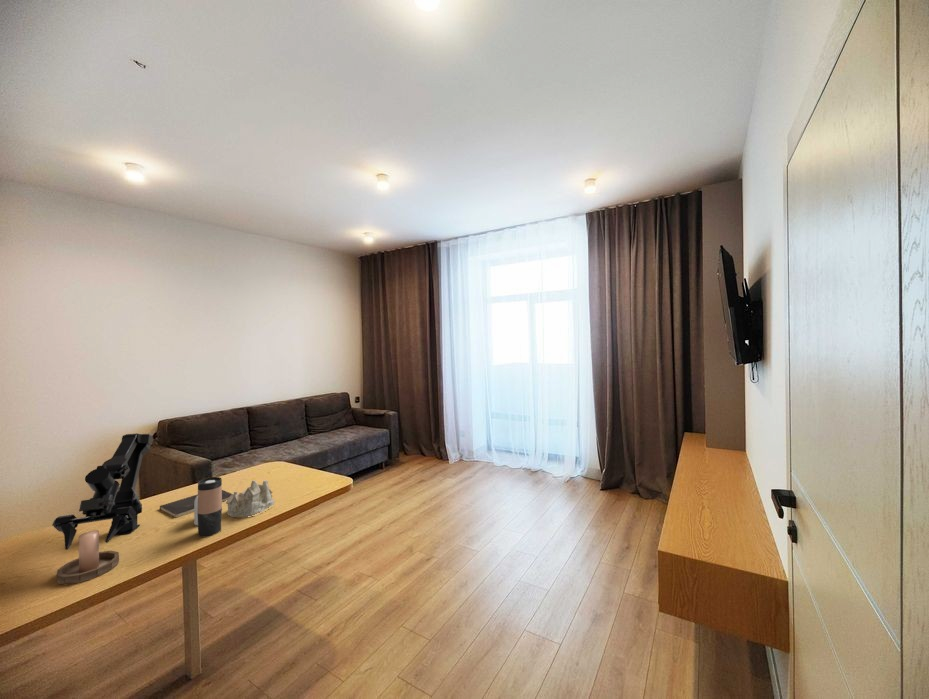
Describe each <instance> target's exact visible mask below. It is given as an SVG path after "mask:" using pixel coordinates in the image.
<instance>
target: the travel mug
mask: <svg viewBox="0 0 929 699" xmlns="http://www.w3.org/2000/svg"><path fill="white" fill-rule="evenodd" d="M222 482H223V480H222V477H219V476H218V477H217V476H215V477H214V476H212V477H207V478H204V479H201V480H199V481H198V482H197V494H198V511H197V514H198V525H197V534H198V537H201V538H205V537H210V536H214V535H217V534H218V533H220V532H221V530H222V514H223V513H222V511H223V502H222V490H223V489H222V488H223V485H222V484H223V483H222Z"/></svg>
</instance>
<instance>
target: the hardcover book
mask: <svg viewBox="0 0 929 699" xmlns="http://www.w3.org/2000/svg"><path fill="white" fill-rule="evenodd" d="M231 494H232V493H231V492H228V491H226V490H223V489H222V503H224V502H227V501H226V500H228V499H229V498H230V496H231ZM197 496H198V493H197V494H195V495H192V496H191V495H190V496H188V497H184V498H182V499H178V500H175V501H172V502H168V503H165V504H161V505H159V510H162V511H163V512H165V513H167V514H169V515H170V516H173V517H174V518H179V517H182V516H185V515H188V514H191V513H194V505H195V499H196V497H197ZM223 501H224V502H223Z"/></svg>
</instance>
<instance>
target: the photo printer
mask: <svg viewBox="0 0 929 699" xmlns="http://www.w3.org/2000/svg"><path fill="white" fill-rule="evenodd" d="M197 511H198V496H197V497H196V499H195V505H194V512H193V513H194V514H193V515H194V516H193V518H194V522H193V523H194V525H195V526H198V514H197Z"/></svg>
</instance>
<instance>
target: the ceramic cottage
mask: <svg viewBox="0 0 929 699" xmlns="http://www.w3.org/2000/svg"><path fill="white" fill-rule="evenodd" d="M251 480H252V481H251V483H250V486H249V487H247V489H245V490H244V491H242V492H239V493H238V491H237V490H236V491H235V490H234V492H233V493H231V496H230V498H229V499H228V500H227V501H225V502H226V504H227V510H226V515H227V514H228V516H229V515H230V516H229V517H231V518H234V517H248V516H252V515H255V514H257V513H260V512H262V511H264V510H265V509H267V508H269V507H270V506H272V505H274V503H275V500H274V499H273V495H272V494H273V491H272V490H271V489H270V487H269V483H268V482H269V481H268V479H264V480H263V481H262V484H258V482H256V480H255V479H251ZM275 504H276V503H275Z"/></svg>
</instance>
